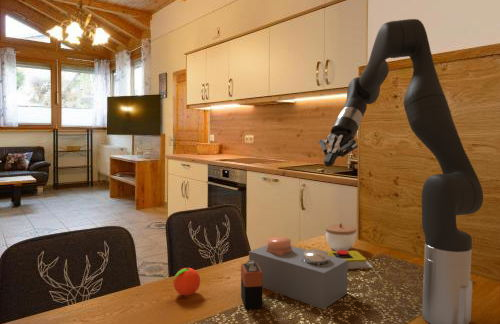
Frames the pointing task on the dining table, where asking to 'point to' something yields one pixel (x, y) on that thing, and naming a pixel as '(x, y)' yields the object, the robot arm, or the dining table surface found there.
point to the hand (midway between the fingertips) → (327, 164)
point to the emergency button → (351, 258)
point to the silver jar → (315, 257)
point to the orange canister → (279, 245)
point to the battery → (251, 285)
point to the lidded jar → (340, 236)
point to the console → (302, 276)
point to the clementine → (186, 281)
